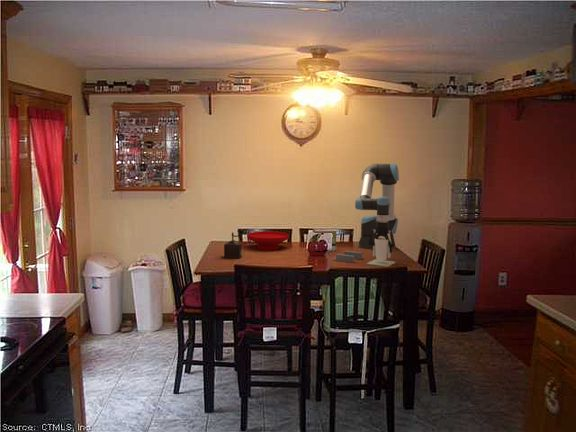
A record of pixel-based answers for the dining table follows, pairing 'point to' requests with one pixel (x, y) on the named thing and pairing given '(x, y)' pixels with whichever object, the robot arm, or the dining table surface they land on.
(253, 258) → the dining table surface
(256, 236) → the bowl
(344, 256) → the clamp
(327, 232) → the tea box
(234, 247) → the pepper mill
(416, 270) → the dining table surface
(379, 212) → the robot arm
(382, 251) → the foam cup
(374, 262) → the pad
